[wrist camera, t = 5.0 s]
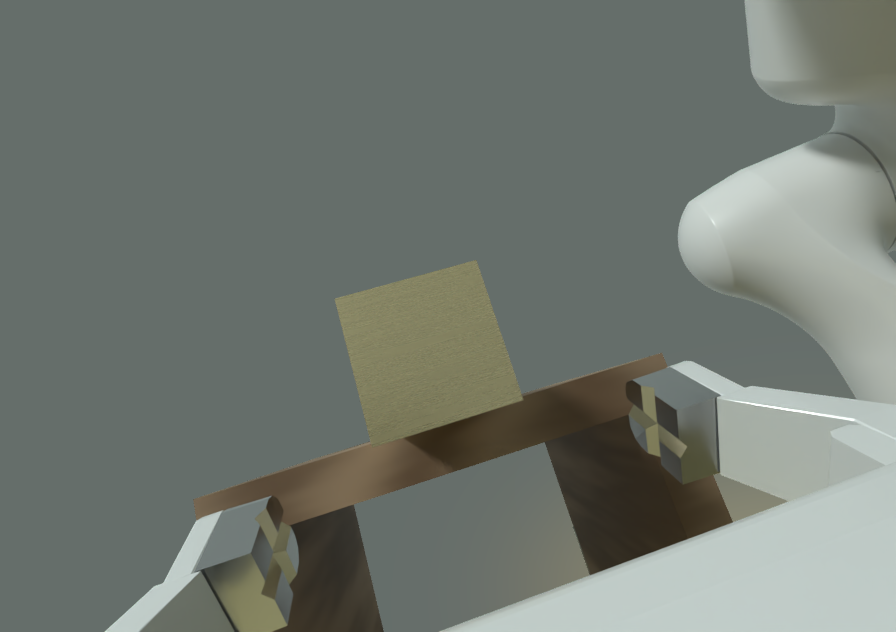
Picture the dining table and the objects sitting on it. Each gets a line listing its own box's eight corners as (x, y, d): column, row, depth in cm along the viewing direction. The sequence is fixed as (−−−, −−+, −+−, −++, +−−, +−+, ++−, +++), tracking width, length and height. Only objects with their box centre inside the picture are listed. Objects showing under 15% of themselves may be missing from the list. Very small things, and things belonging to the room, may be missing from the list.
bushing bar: (460, 413, 31) (446, 366, 32) (523, 400, 10) (476, 259, 11) (413, 428, 31) (400, 380, 32) (372, 447, 9) (334, 298, 10)
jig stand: (668, 729, 31) (535, 353, 37) (1004, 1169, 13) (635, 289, 19) (404, 839, 29) (310, 421, 35) (358, 1549, 11) (181, 422, 17)
